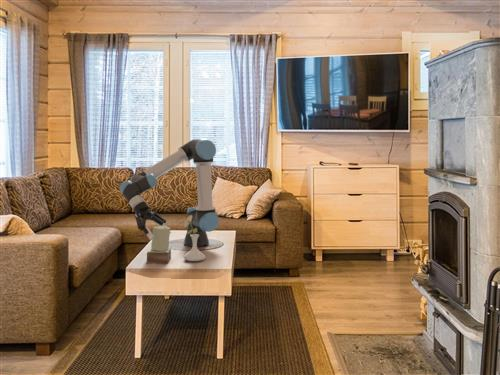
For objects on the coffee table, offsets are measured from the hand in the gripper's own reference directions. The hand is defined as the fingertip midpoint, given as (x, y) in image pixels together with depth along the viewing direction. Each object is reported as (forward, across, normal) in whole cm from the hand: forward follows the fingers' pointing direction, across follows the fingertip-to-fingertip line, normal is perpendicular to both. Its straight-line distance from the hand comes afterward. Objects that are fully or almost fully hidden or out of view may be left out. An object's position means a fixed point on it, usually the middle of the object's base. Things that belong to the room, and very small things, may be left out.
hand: (160, 236), depth 262 cm
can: (+4, -1, -6) cm, 7 cm away
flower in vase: (+19, -11, 0) cm, 22 cm away
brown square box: (+9, 0, -11) cm, 14 cm away
